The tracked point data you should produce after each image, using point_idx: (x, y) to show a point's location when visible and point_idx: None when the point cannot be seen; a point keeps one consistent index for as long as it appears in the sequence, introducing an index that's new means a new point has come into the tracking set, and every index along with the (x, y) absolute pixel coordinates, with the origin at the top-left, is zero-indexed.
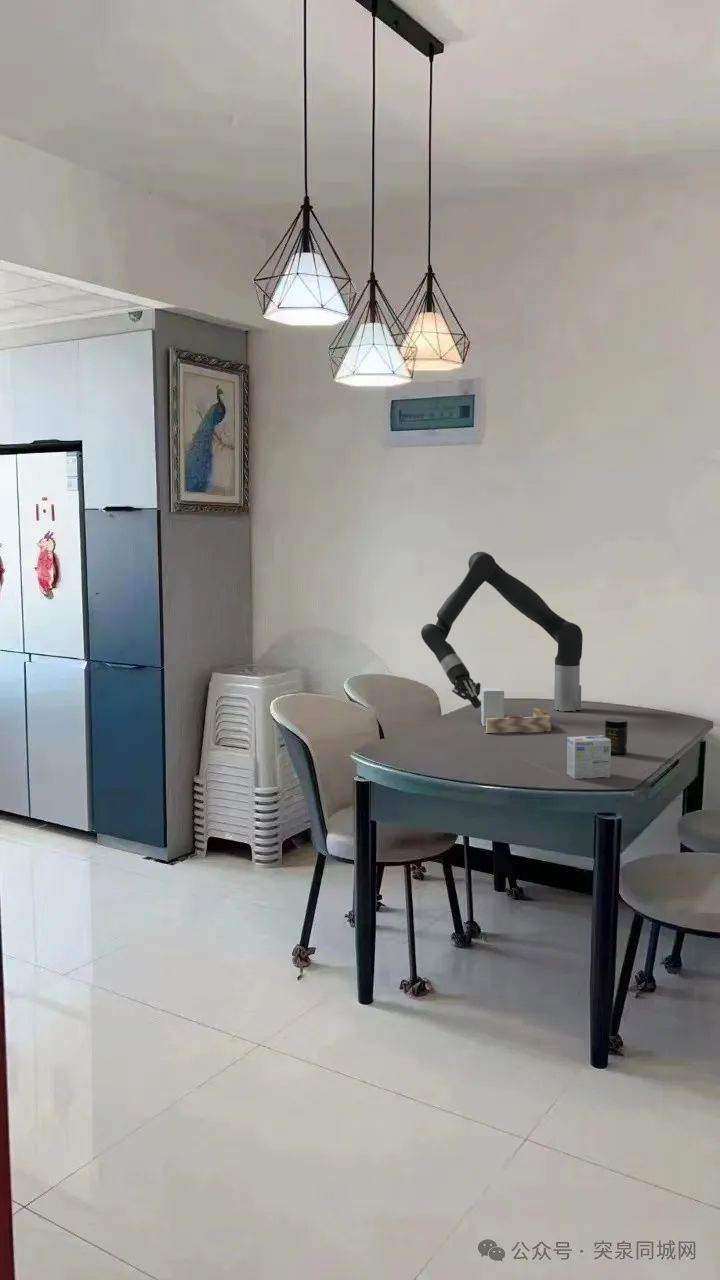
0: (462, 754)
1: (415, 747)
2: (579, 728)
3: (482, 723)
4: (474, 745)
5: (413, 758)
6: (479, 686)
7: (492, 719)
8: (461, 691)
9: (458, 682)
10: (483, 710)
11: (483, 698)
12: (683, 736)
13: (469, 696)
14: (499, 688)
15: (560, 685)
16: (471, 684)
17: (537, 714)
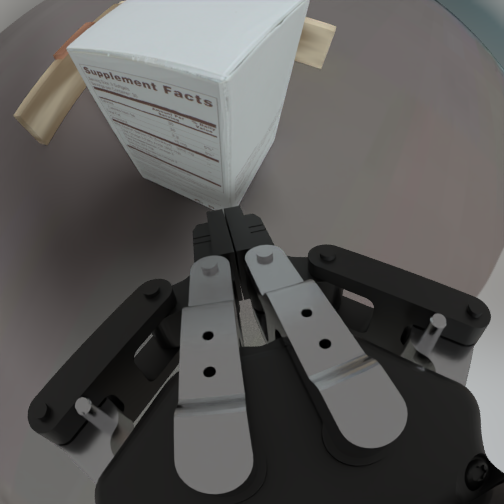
0: (422, 23)
1: (489, 95)
2: (51, 53)
3: (265, 155)
4: (392, 31)
5: (483, 61)
6: (66, 375)
7: (315, 21)
8: (411, 273)
9: (458, 405)
10: (285, 92)
11: (297, 40)
12: (28, 13)
13: (299, 261)
14: (111, 19)
15: None
16: (205, 388)
17: (59, 80)
